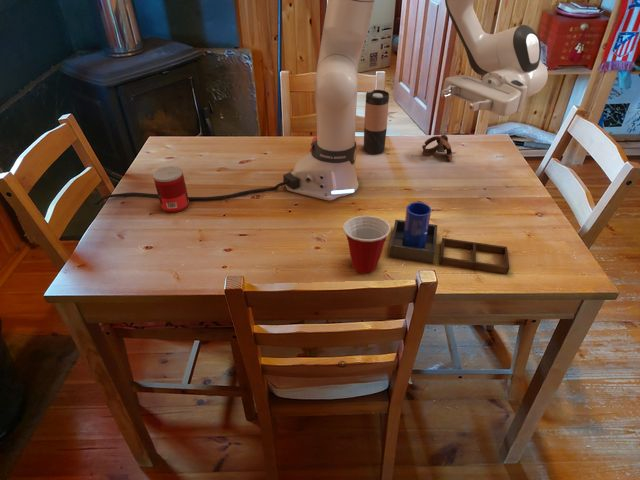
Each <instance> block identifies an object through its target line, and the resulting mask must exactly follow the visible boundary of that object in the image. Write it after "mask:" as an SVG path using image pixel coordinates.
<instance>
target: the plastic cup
mask: <svg viewBox="0 0 640 480" xmlns="http://www.w3.org/2000/svg"><path fill="white" fill-rule="evenodd" d="M342 231H343V232H344V234H345V236H346V240H347V244H348V250H349V255H350V258H351V265H352V267H353V270H354V271H356V272H357V273H360V274H365V275H367V274H371V273H373V272H375V271H376V269H377V267H378V264H379V261H380V259H381V255H382V253H383V249H384V246H385V244H386V243H385V242H386V241H387V237H388V235H390V233H391V225H390V223H389V222H388V221H386V219H383V218H382V217H379V216H373V215H359V216H353V217H351V218H349V219H347V220H346V221H345V222H344V223H343V230H342Z"/></svg>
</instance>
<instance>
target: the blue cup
mask: <svg viewBox="0 0 640 480" xmlns="http://www.w3.org/2000/svg"><path fill="white" fill-rule="evenodd" d="M405 209H406V210H405V216H404V221H405V224H404V232H403V239H402V245H403V246H407V247H414V248H421V249H424V248H425V244H426V239H427V233H428V227H429V224H430V221H431V215H432V208H431V206H430V205H429V204H426V203H425V202H421V201H413V202H410V203H409V204H407V206H406V208H405Z"/></svg>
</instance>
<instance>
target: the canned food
mask: <svg viewBox="0 0 640 480" xmlns="http://www.w3.org/2000/svg"><path fill="white" fill-rule="evenodd" d="M152 178H153V182H154V186H155V189H156V194H158V197H157V198H158V200H159V203H160V206H161V209H162V210H163V211H164V212H167V213H178V212H181V211H184V210H185V209H187V208H188V206H189V204H190V200H189V198H188V197H189V194H188V191H187V186H186V185H187V184H186V180H185V177H184V173H183V169H182V168H181V167H179V166H174V165H172V166H170V165H169V166H164V167H160V168H158V169H156V170H155V171H154V172H153V174H152Z"/></svg>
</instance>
